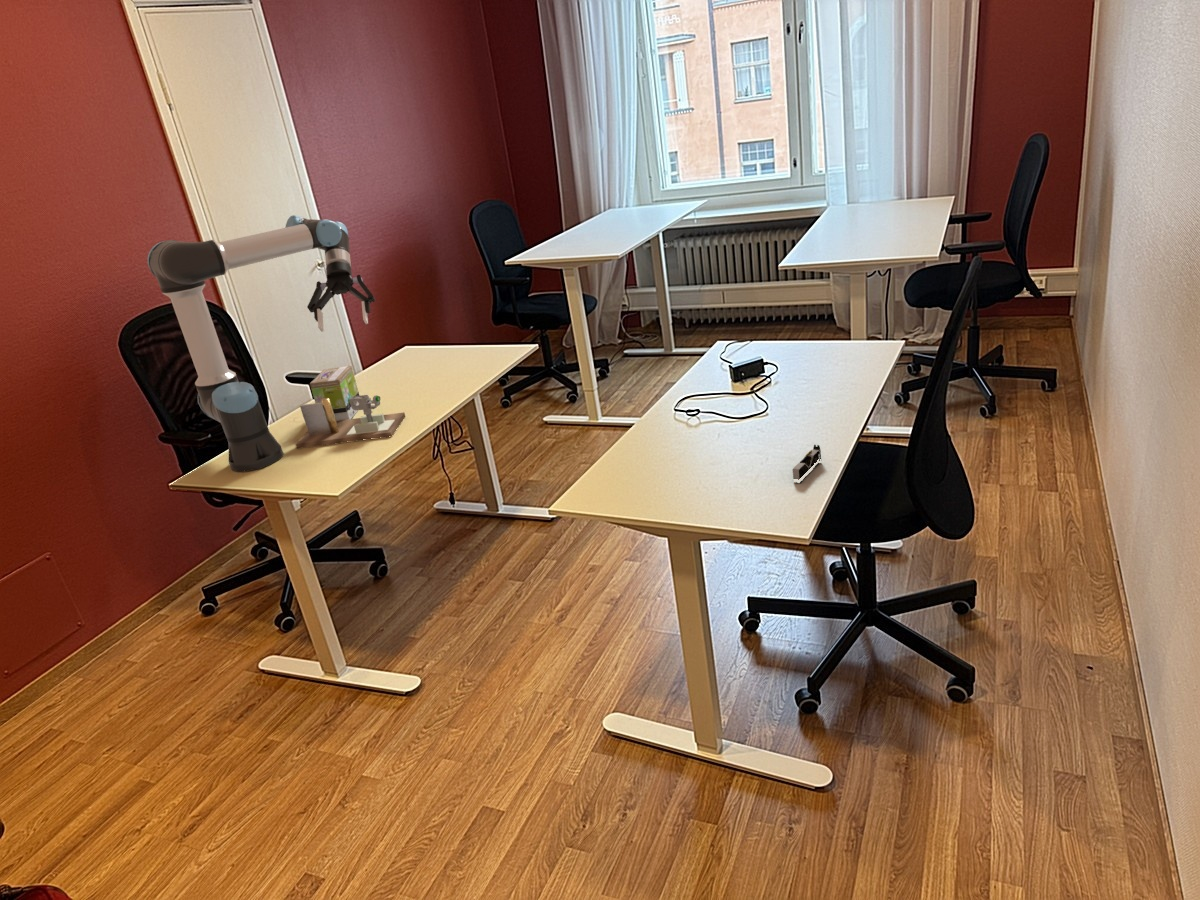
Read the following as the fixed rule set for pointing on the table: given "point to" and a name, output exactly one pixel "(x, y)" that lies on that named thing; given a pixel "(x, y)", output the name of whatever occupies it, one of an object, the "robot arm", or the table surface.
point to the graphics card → (807, 462)
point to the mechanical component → (364, 404)
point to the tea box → (336, 390)
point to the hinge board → (343, 426)
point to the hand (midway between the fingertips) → (343, 325)
